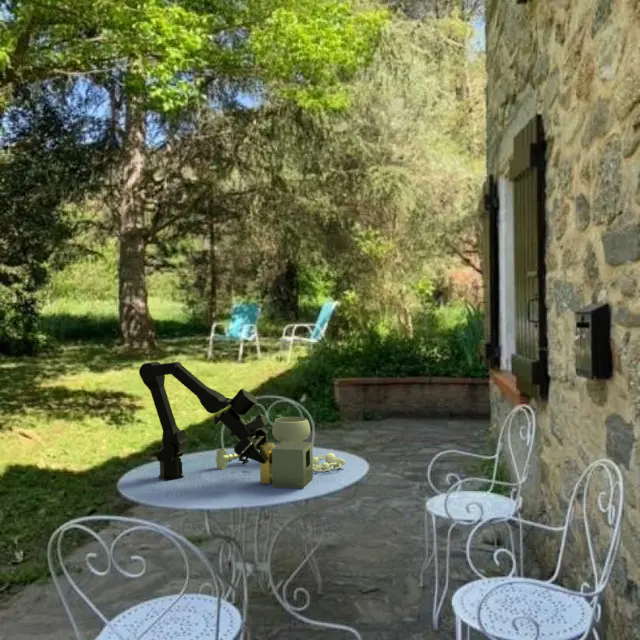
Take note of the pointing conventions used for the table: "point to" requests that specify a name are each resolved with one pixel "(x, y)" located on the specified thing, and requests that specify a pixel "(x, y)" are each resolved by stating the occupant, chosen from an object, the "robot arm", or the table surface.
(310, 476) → the housing
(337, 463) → the tangled rod sculpture
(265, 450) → the end cover
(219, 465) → the valve
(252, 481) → the table surface
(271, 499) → the table surface
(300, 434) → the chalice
